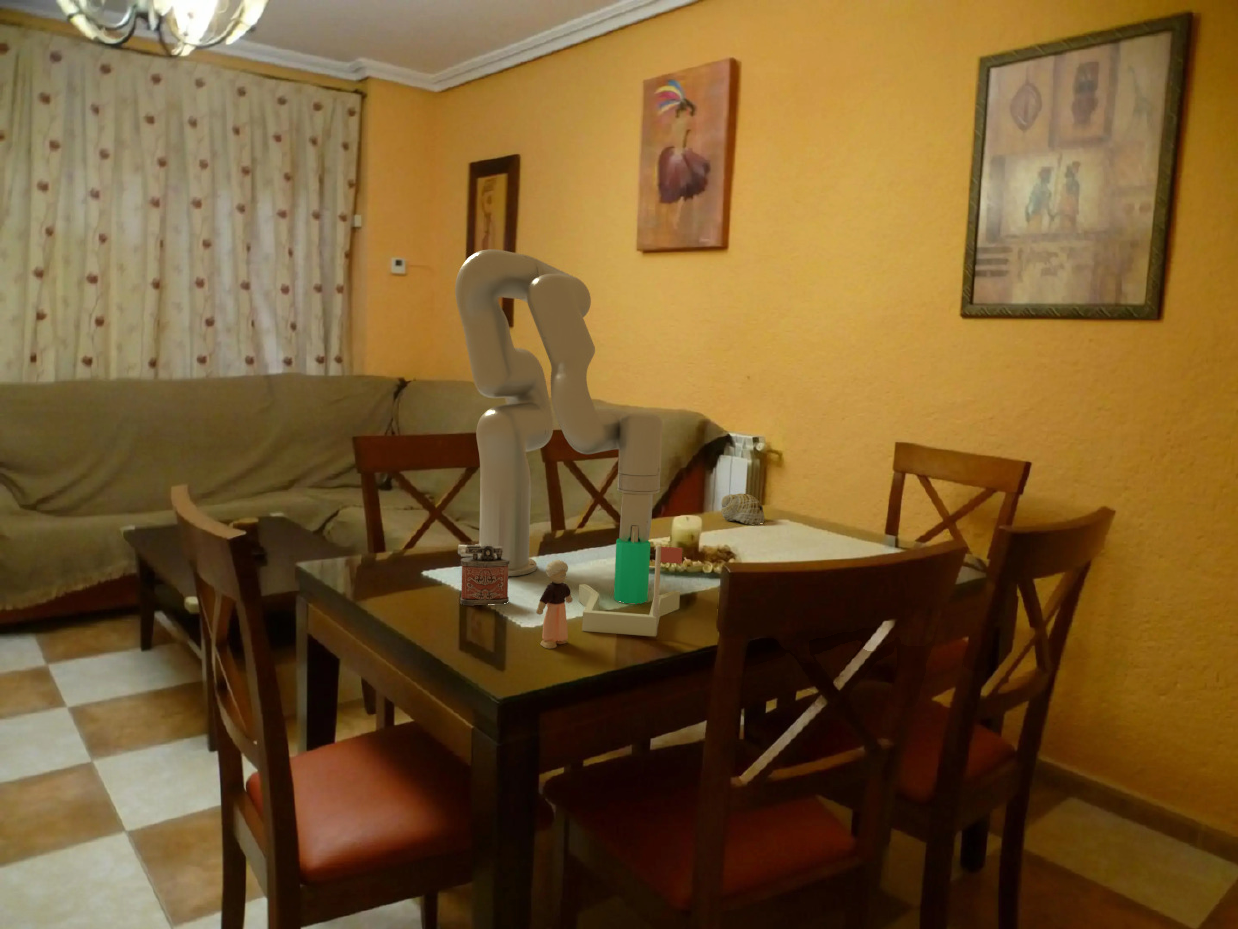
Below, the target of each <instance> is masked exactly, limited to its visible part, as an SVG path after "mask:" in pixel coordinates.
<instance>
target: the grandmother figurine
mask: <svg viewBox="0 0 1238 929" xmlns="http://www.w3.org/2000/svg"><path fill="white" fill-rule="evenodd" d="M568 570H569V565H568V564H567V563H566V562H565V561H564V560H560V559H557V558H556V559H555V560H552V561H551V562H549V563H548V564H547V565H546V567H545V572H546V575H547V577H548V578H549V580H550V583H549V584H547V586H546V588H545V590H544V592H543V593H542V595H541V597H540V599H539V603H538V605H537V609H536V610H535V612H536V614H537V615H540V616H541V615H543V613H544V610H545V608H546V607H547V609H546V612H545V614H544V618H543V625H542V626H543V627H542V636H541V638H542V639H543V640H541V642H540V644H539V645H540V646H542V647H543V648H545V649H550V650H551V649H555V648H557V647H558V645H563V644H567V643H568V639H569V635H568V634H569V632H568V621H567V620H568V619H567V611H566V603H568V604H570V603H572V602H573V597H572V593H571V592H572V590H571V589H570V587H569V585H568V583H565V581H566V579H567V572H568Z"/></svg>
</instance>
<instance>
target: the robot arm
mask: <svg viewBox="0 0 1238 929" xmlns="http://www.w3.org/2000/svg"><path fill="white" fill-rule="evenodd" d="M454 286H455V287H454V295H455V302H456V305H457V309H458V312H459V313H458V314H459V316H460V320H461V324H462V327H463V333H464V340H465V345H466V350H467V355H468V360H469V364H470V369H471V371H470V372H471V374H472V379H473V383H474V386H475V388H476V390H477V392H479V394H480V395H482V396H483V397H486V398H490V399H503V398H504V399H505V404H500V405H495V406H493V407H491V408H489V409H488V410H486V411H485V412H484V413H483V414H482V415H481V417H480V418H479V420H478V422H477V425H476V432H475V434H476V436H475V437H476V442H477V449H478V454H479V456H478V457H479V467H480V468H479V470H480V471H479V472H480V473H479V474H480V476H479V477H480V478H479V481H480V482H479V483H480V484H479V487H480V493H479V494H480V495H479V497H480V498H479V542H478V543H475V544H474V545H480V546H484V545H485V544H491V546H502V547H503V552H502V556H501V557H502V558H508V559H510V562H509V565H508V577H518V576H524V575H528V574H531V573H533V572H535V571H536V570H537V567H538V566H537V565H538V563H537V561H536V560H535V559H533V558H530V533H531V532H530V526H531V491H532V489H531V486H532V485H531V484H532V482H531V480H532V478H531V470H530V465H529V462H528V457H527V452H532V451H536V450H540V449H541V448H544V447H545V446H546V445H547V444H548V443H549V442H550V441H551V439H552V436H553V432H554V417H553V411H554V414H555V417H556V419H557V422H558V425H559V427H560V429H561V431H562V434H563V436H564V438H565V440H566V441H567V443H568V445H569V446H570V447H572V449H573V450H575V452H578V453H580V454H583V455H592V454H597V453H601V452H608V451H612V450H618V465H617V466H618V467H617V469H618V471H617V488H616V490H617V492H619V493H622V495H621V496H622V498H621V508H620V521H619V522H620V523H619V524H620V525H619V536H618V537H619V538H620V539H621V541H626V542H627V541H628V539H629V538H631V541H632V542H633V532H634V542H638V538H640V541H641V542H642V543H644V542H646V540H648V541H650V540H649V539H650V534H651V527H652V526H651V525H652V515H653V514H652V513H653V501H654V500H653V497H654V496H653V495H655V494H659V493H660V488H661V467H662V447H663V446H662V445H663V419H662V418H661V417H660V416H659V415H657V414H655V413H648V412H627V411H623V410H618V409H614V408H602V409H596V407H595V405H594V403H593V400H592V397H591V395H590V392H589V388H588V382H587V381H588V380H587V377H588V376H587V374H588V369H589V365H590V364H591V362H592V360H593V358H594V355H595V353H596V347H595V344H594V342H593V339H592V337H591V334H590V332H589V329H588V327H587V323H586V322H585V319H584V318H585V316H587V314H588V312H589V311H590V308H591V303H592V299H591V298H592V297H591V293H590V291H589V289H588V287H587V285H586V284H585V283H584V281H582V280H581V279H580V278H578V277H576V276H573V275H572V274H569V273H567V272H565V271H563V270H560V269H558V268H556V267H555V266H552V265H550V264H548V263H546V262H544V261H542V260H540V259H537V258H535V257H533V256H530V255H526V254H523V253H517V252H512V251H507V250H502V249H492V248H491V249H490V248H489V249H484V250H478V251H477V252H475V253H473V254H472V255H470V256H469V257H468V258H466V260H465V261H464V262H463V264H462V265H461V267H460V268H459V271H458V272H457V276H456V279H455V285H454ZM500 298H505V299H516V300H519V301H523V302H525V303H527V306H528V308H529V309H528V310H529V312H530V314H531V317H532V319H533V321H534V325H535V327H536V329H537V332H538V335H539V337H540V339H541V342H542V344H543V347H544V349H545V352H546V356H547V357H548V360H549V363H550V368H551V369H550V370H551V371H550V397H551V398H550V397H549V392H548V391H549V390H548V387H547V385H548V384H547V382H546V376H545V372H544V368H543V367H542V365H541V362H540V361H539V359H538V358H537V356H536V355H534V353H533V352H531V351H530V350H527V349H525V348H521V347H514V343H513V340H512V335H511V329H510V325H509V321H508V318H507V316H506V314H505V312H504V310H503V308H502V307H501V304H500V302H499V299H500ZM550 399H551V402H550ZM551 404H552V406H551ZM552 408H553V411H552ZM619 538H618V539H619ZM467 545H468V544H458V547H457V554H458V555H460V557H464V558H470V557H473V554H466V553H465V549H466V546H467ZM494 555H495V557H497V555H496V554H494ZM480 556H481V554H478V557H480Z"/></svg>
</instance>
